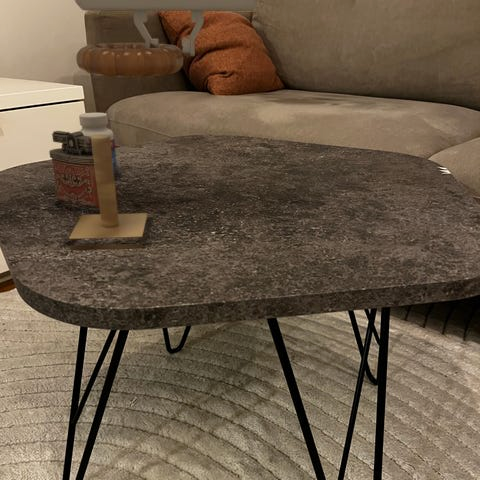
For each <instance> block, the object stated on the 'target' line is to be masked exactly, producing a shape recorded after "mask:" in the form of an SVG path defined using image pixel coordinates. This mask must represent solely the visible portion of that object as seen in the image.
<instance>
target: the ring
mask: <svg viewBox="0 0 480 480" xmlns="http://www.w3.org/2000/svg"><path fill="white" fill-rule="evenodd" d="M75 61H76V64H77V66H78V69H80V70H81V71H82V72H84V73H86V74H89V75H93V76H99V77H113V78H131V77H132V78H143V77H157V76H159V77H160V76H165V75H171V74H175V73H177V72H180V70H181V69H182V68H183V65H184V56H183V55H182V49H181V48H179V47H178V46H177V45H174V44H170V43H169V44H167V43H159V46H158V48H146V46H145V42H111V43H109V42H107V43H95V44H87V45H84V46H83V47H81V48H80V49H79V50H78V51H77V53H76V57H75Z"/></svg>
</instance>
